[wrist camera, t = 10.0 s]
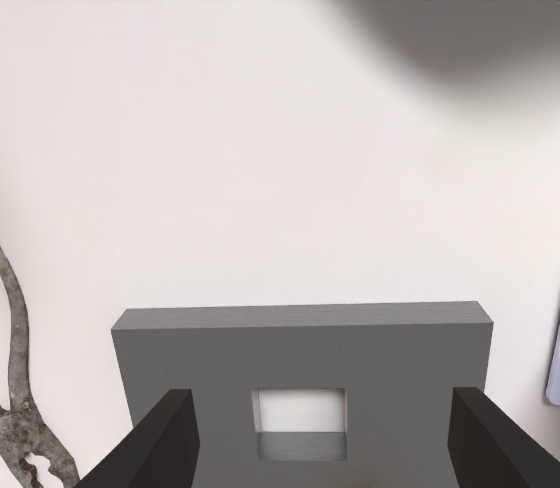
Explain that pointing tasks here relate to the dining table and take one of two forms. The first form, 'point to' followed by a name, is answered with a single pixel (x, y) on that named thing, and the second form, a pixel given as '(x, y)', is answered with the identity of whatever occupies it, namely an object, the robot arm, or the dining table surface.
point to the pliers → (26, 403)
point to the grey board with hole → (311, 386)
